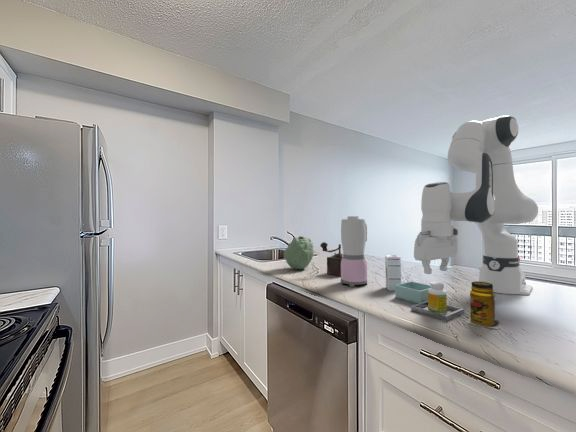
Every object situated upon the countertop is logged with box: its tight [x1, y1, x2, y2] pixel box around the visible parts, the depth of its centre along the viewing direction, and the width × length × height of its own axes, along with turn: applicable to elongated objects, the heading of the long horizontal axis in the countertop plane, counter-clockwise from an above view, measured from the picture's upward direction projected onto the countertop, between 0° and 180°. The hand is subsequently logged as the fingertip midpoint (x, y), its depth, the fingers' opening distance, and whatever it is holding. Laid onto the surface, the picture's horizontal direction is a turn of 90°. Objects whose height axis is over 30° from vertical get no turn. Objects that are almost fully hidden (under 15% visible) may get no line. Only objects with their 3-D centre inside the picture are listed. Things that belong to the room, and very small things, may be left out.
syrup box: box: [384, 254, 402, 292], centre depth 117 cm, size 6×6×14 cm
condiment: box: [467, 280, 500, 330], centre depth 81 cm, size 7×8×12 cm
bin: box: [394, 280, 431, 305], centre depth 103 cm, size 10×10×5 cm
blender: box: [340, 215, 368, 288], centre depth 127 cm, size 16×12×32 cm
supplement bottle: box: [427, 281, 448, 315], centre depth 89 cm, size 5×5×10 cm
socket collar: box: [410, 301, 465, 322], centre depth 89 cm, size 12×12×2 cm
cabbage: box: [283, 235, 314, 270], centre depth 162 cm, size 16×19×20 cm
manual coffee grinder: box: [319, 241, 343, 278], centre depth 146 cm, size 16×11×18 cm
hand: (435, 272), depth 89 cm, fingers open, 8 cm apart
